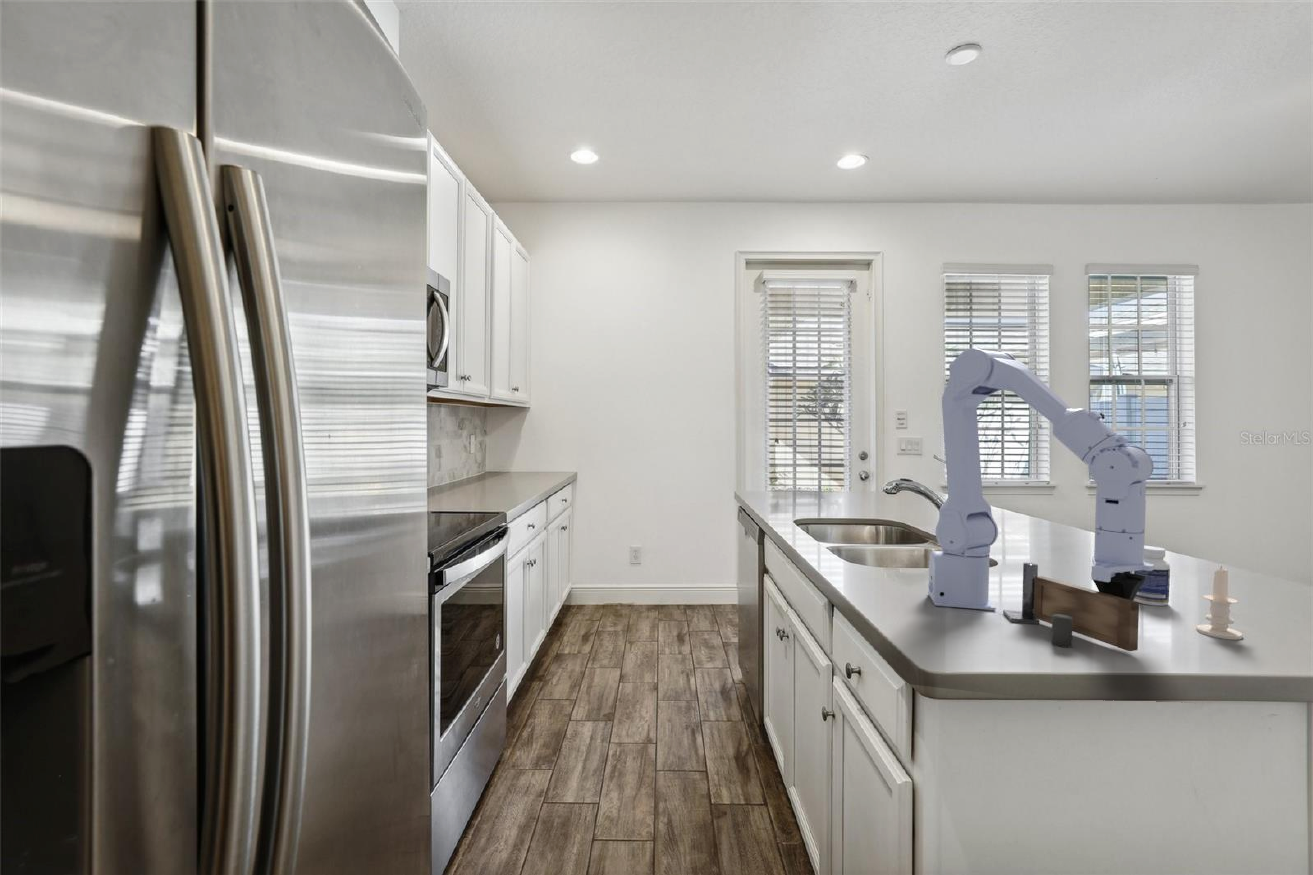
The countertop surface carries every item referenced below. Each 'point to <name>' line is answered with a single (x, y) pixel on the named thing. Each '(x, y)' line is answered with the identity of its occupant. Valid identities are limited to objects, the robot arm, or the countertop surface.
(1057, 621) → the block
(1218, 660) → the countertop surface
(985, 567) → the robot arm
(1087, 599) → the gate
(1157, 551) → the pill bottle
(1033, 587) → the gate post
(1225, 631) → the candle
